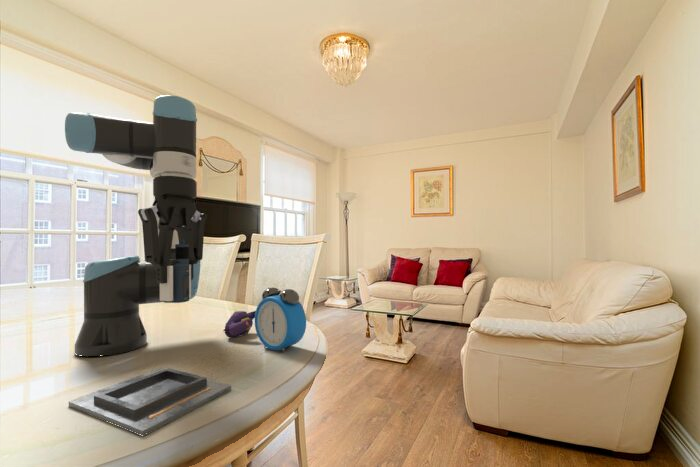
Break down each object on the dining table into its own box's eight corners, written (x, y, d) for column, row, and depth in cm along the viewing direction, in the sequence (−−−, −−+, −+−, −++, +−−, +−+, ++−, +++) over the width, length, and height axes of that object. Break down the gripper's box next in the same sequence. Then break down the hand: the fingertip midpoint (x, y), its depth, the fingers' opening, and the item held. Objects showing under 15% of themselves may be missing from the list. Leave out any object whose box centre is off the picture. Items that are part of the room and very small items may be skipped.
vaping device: (183, 303, 62) (183, 239, 63) (159, 302, 63) (159, 239, 64) (192, 300, 65) (192, 239, 65) (169, 300, 66) (168, 240, 66)
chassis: (68, 406, 55) (68, 394, 55) (160, 371, 69) (160, 362, 70) (142, 436, 46) (142, 422, 46) (231, 389, 61) (231, 378, 61)
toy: (262, 331, 101) (263, 309, 101) (249, 344, 89) (250, 320, 89) (226, 328, 101) (227, 306, 101) (209, 341, 90) (210, 317, 90)
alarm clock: (253, 346, 85) (253, 287, 86) (272, 340, 91) (271, 285, 91) (290, 356, 78) (289, 291, 78) (307, 349, 83) (307, 288, 83)
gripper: (147, 167, 56) (147, 307, 55) (221, 183, 71) (222, 293, 70) (119, 172, 59) (119, 305, 58) (196, 186, 74) (197, 292, 73)
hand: (175, 298), depth 64 cm, fingers closed on vaping device, 3 cm apart
